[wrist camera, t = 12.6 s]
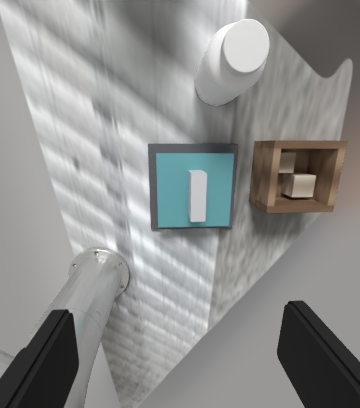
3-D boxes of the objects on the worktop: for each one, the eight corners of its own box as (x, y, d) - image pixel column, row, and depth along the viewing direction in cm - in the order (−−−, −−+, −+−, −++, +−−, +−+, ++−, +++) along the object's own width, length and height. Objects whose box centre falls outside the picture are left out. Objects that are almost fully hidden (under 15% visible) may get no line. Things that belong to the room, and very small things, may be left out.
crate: (304, 200, 45) (332, 211, 37) (249, 201, 44) (266, 212, 36) (314, 141, 42) (347, 140, 34) (254, 141, 41) (275, 140, 33)
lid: (225, 220, 44) (237, 236, 36) (158, 222, 43) (157, 238, 36) (229, 152, 40) (243, 154, 33) (156, 152, 40) (154, 154, 32)
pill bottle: (212, 116, 39) (238, 100, 25) (185, 78, 37) (196, 37, 23) (246, 87, 38) (295, 52, 24) (220, 46, 36) (256, -19, 22)
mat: (230, 226, 45) (231, 227, 45) (151, 227, 44) (151, 229, 44) (236, 144, 41) (238, 144, 40) (148, 143, 40) (148, 143, 39)
